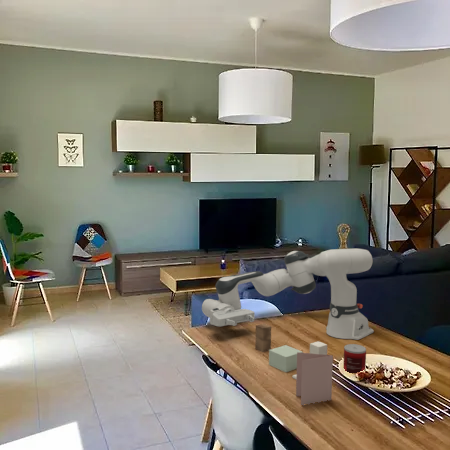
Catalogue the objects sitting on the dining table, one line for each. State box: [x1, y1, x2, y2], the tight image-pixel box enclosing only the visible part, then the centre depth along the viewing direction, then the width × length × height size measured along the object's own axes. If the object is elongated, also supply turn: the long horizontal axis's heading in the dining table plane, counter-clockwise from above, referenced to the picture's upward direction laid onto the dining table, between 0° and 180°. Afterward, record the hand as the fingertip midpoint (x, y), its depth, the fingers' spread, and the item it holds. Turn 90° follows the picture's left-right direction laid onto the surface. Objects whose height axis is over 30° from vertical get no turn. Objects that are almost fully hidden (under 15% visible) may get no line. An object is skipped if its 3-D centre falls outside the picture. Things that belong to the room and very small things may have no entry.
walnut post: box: [254, 323, 272, 353], centre depth 207 cm, size 4×4×10 cm
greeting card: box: [295, 352, 334, 406], centre depth 161 cm, size 11×7×15 cm, turn 77°
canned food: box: [343, 343, 367, 373], centre depth 180 cm, size 8×8×11 cm
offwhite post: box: [309, 341, 328, 355], centre depth 186 cm, size 4×4×10 cm
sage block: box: [268, 344, 304, 373], centre depth 191 cm, size 9×9×6 cm
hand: (244, 321), depth 217 cm, fingers open, 8 cm apart
